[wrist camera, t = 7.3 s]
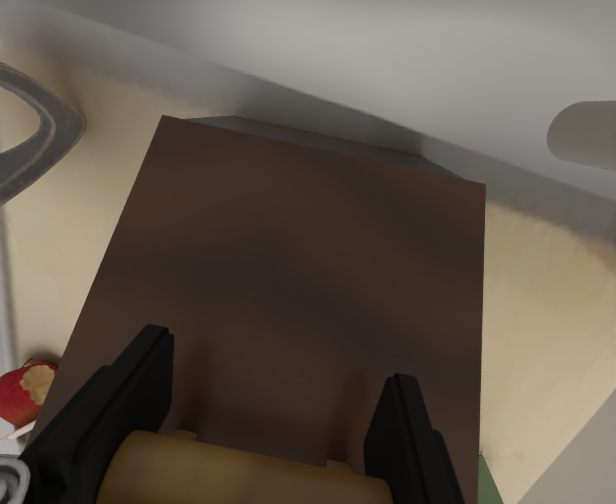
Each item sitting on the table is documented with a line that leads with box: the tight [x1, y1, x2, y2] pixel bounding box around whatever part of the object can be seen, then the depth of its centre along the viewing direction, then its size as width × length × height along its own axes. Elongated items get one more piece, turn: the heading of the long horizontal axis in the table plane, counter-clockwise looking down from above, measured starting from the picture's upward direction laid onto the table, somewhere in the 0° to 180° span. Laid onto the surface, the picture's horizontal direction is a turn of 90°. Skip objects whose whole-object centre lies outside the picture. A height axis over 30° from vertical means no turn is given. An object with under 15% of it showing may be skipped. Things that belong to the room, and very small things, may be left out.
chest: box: [184, 116, 465, 180], centre depth 23 cm, size 14×15×11 cm
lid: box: [24, 115, 486, 504], centre depth 11 cm, size 14×15×5 cm
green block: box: [478, 456, 504, 504], centre depth 35 cm, size 6×4×7 cm, turn 79°
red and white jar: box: [0, 358, 58, 441], centre depth 35 cm, size 8×8×6 cm
